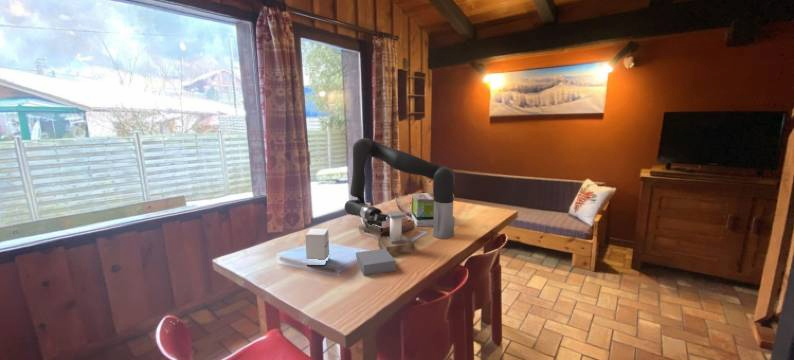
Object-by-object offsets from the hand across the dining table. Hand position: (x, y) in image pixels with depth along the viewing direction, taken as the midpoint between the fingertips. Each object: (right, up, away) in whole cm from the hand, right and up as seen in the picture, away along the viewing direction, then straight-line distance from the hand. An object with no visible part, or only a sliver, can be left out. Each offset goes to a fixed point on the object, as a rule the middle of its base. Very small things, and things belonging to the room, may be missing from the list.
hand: (389, 222), depth 142 cm
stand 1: (-5, -14, -18) cm, 24 cm away
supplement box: (-28, -14, -15) cm, 34 cm away
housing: (+3, -7, -3) cm, 8 cm away
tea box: (+17, -4, +36) cm, 40 cm away
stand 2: (+3, -11, -2) cm, 12 cm away
